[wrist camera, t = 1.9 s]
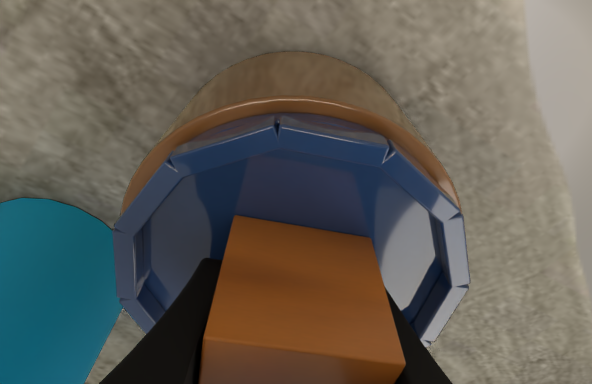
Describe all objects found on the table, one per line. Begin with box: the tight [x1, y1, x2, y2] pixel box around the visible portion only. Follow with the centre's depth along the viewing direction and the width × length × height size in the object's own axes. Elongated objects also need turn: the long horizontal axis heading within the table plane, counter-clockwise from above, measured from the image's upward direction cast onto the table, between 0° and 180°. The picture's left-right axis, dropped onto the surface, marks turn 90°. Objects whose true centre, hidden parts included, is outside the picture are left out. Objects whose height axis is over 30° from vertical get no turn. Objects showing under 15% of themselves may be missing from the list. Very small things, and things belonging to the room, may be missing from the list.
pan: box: [112, 51, 470, 348], centre depth 14 cm, size 11×11×7 cm
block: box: [198, 215, 406, 384], centre depth 10 cm, size 4×4×4 cm
